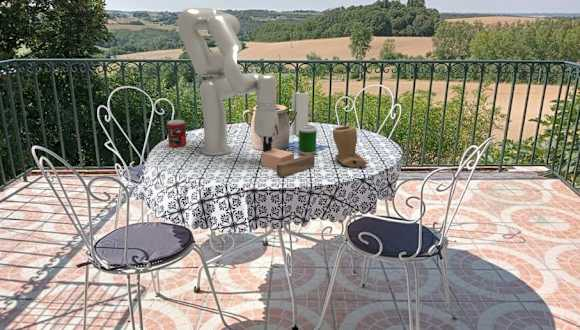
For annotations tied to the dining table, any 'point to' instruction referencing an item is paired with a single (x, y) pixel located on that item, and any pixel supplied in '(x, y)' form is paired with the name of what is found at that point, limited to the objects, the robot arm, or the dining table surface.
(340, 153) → the tan boot-shaped piece
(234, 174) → the dining table surface
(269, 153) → the brick
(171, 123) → the canned food
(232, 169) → the dining table surface
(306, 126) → the soda can
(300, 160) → the board
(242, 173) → the dining table surface
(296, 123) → the paper towel roll
